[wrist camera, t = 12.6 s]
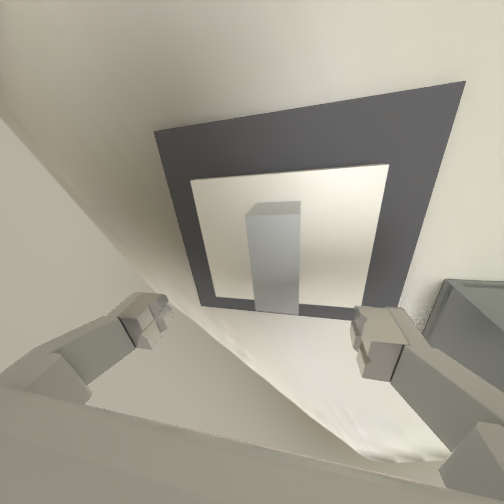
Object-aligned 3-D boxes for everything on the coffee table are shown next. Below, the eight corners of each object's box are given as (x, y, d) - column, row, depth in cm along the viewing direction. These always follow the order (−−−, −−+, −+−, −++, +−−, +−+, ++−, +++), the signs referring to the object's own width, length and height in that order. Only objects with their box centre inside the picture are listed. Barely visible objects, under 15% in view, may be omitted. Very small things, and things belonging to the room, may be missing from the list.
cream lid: (224, 282, 21) (200, 321, 16) (204, 177, 16) (162, 187, 11) (353, 290, 18) (373, 342, 13) (375, 162, 13) (418, 168, 8)
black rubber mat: (203, 303, 24) (201, 305, 23) (157, 132, 16) (153, 131, 15) (389, 320, 19) (391, 324, 18) (459, 83, 11) (465, 80, 10)
